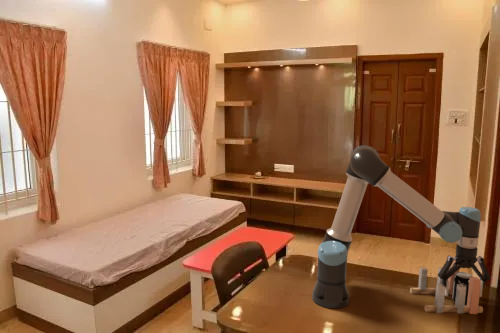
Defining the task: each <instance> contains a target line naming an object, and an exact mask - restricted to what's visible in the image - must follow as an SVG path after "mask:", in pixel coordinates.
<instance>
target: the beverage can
mask: <svg viewBox="0 0 500 333" xmlns="http://www.w3.org/2000/svg"><path fill="white" fill-rule="evenodd" d="M470 277H473V276H472V274H470V273H467V272H464V271H459V272H457V273H456V275H455V276H454V286H453V295H452V301H453V302H454V303H455V299H456V289H457V284H463V285H464V286H466V295H465V305H464V306H467V299H468V289H469V282H468V281H469V280H470Z"/></svg>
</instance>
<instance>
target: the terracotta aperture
mask: <svg viewBox="0 0 500 333" xmlns="http://www.w3.org/2000/svg"><path fill="white" fill-rule="evenodd" d="M455 262H456V261H454V262H453V263H452V265H451V267H452V266H453V264H454V263H455ZM457 266H458V265H457ZM451 267H450V268H451ZM450 268H449V269H450ZM457 272H460V269H458V270H457V271H456V272H455V273H454V274H453V275H452V276H451V277H450V278H449V279H448V280H449V289H450V294H449V295H450V296H451V295H452V296H453V286H454V276H455V275H456V273H457ZM468 282H469V289H468V299H467V305H466V306H468V307H469V312H468V313H469V315H478V314H479V313H478V306H479V303H480V302H479V301H480V296H479V295H480V285H481V280H480V278H479V277H477V276H472V277H470V280H469V281H468Z"/></svg>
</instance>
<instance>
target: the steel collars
mask: <svg viewBox="0 0 500 333" xmlns="http://www.w3.org/2000/svg"><path fill="white" fill-rule="evenodd" d="M441 269H442V267H438V268H437V275H438V274H439V272H440V270H441ZM427 283H428V268H427V267H426V266H425V267H424V266H422V267H421V266H420V267H419V274H418V285H417V286H418V287H417V288H420V289H426V288H427ZM435 288H436V294H434V295H435V296H434V297H435V298H434V305H435V306H436V312H435V313H436V314H444V312H443V308H444V305H445V297H446V295H445V286H444V285H443V284H442V279H441V278H439V277H438V276H437V280H436V284H435ZM465 295H466V286H464V285H463V284H457V289H456V299H455V302H454V306H456V307H457V310H456V312H455V313H456V314H465V312H464V306H466V305H465Z"/></svg>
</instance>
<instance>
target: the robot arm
mask: <svg viewBox="0 0 500 333" xmlns="http://www.w3.org/2000/svg"><path fill="white" fill-rule="evenodd" d="M345 174H346V176H347V179H346V182H345V185H344V188H343V190H342V191H343V192H342V194H341V198H340V201H339V203H338V207H337V210H336V212H335V215H334V219H333V221H332V225H331V227H330V228H327V229H326V232H325V234H324V237H323V240H322V241H321V243H320V244H319V246H318V249H317V274H316V282H315V285H314V287H313V290H312V292H311V293H312V294H311V297H312V301H313V302H314V303H315V304H316V305H318V306H321V307H324V308H328V309H341V308H345V307H347V306H348V305H349V303H350V294H349V293H350V292H349V291H348V287H347V281H346V280H347V267H348V266H347V264H348V254H349V251H350V249H351V244H352V242H353V237H352V235H351V233H352V230H353V228H354V225H355V222H356V219H357V216H358V214H359V210H360V207H361V204H362V202H363V199H364V195H365V193H366V191H367V187H368V185H369V184H370V185H371V186H372V187H378V188H379V189H380V190H382V191H383V192H384V193H385V194H387V195H388V196H390V198H392V199H393V200H394V201H396V202H397V203H398V204H400V205H401V206H402V207H404V208H405V209H406V210H408V211H409V212H410V213H411V214H413V215H414V216H415V217H417V219H419V220H420V221H421V222H423V223H424V224H425V225H426V227H427V228H428V229H432V230H433V231H434V232H435V233H437V235H439V237H440V238H441V239H442V240H443V241H445V242H447V243H456V246H455V256H451V255H447V258H446V261H445V262H444V264H443V266H442V267H441V268H442V269H441V270H440V272H439V274H438V273H437V278H438V277H439V278H441V279H442V284H443V285H444V286H445V297H448V296H449V294H448V290H449V280H448V279H449V278H450V277H451V276H452V275H453V274H454V273H455V272H456V271H457V270H458V269H459V270H460V269H470V268H471V269H472V270H473V272H474V273H475V274H476V275H477V276H478V278H479V279H480V280H481V285H480V295H479V298H480V297H481V298H482V296H483V289H485V286H486V285H485V284H486V283H487V282H488V281H490V280H491V276H490V274H489V272H488V269H487V266H486V264H485V258H484V257H482V256H480V255H479V256H478V250H479V249H478V247H479V238H480V228H481V222H482V220H481V219H482V214H481V213H482V212H481V211H480V209H479V208H476V207H473V206H472V207H471V206H462V207H460V208H459V210H458V211H445V210H441V209H440V208H438V207H437V206H436V205H435V204H433V203H432V202H431V201H429V200H428V199H427V198H425V196H423V195H422V194H421V193H419V192H418V191H417V190H415V189H414V188H413V187H411V186H410V185H409V184H408V183H407V182H405V181H404V180H403V179H401V178H400V177H398V175H396V174H395V173H393V171H392V170H391V167H390V166H389V165H388V164H386V163H385V162H384V161H383V159H381V158H380V154H379V151H378V150H377V149H375V148H374V147H372V146H370V145H364V144H363V145H359V146H357V147H355V148H354V149H353V150H352V152H351V153H350V158H349V161H348V164H347V168H346V170H345ZM477 256H478V257H477ZM454 261H456V262H455V263H454V264H453V266H452V267H451V265H452V263H453V262H454ZM477 262H478V265H479V267H480V269H481V271H480V270H479V269H478V266H477V265H475V264H476V263H477ZM457 265H458V266H457ZM450 267H451V268H450ZM449 268H450V269H449Z"/></svg>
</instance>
